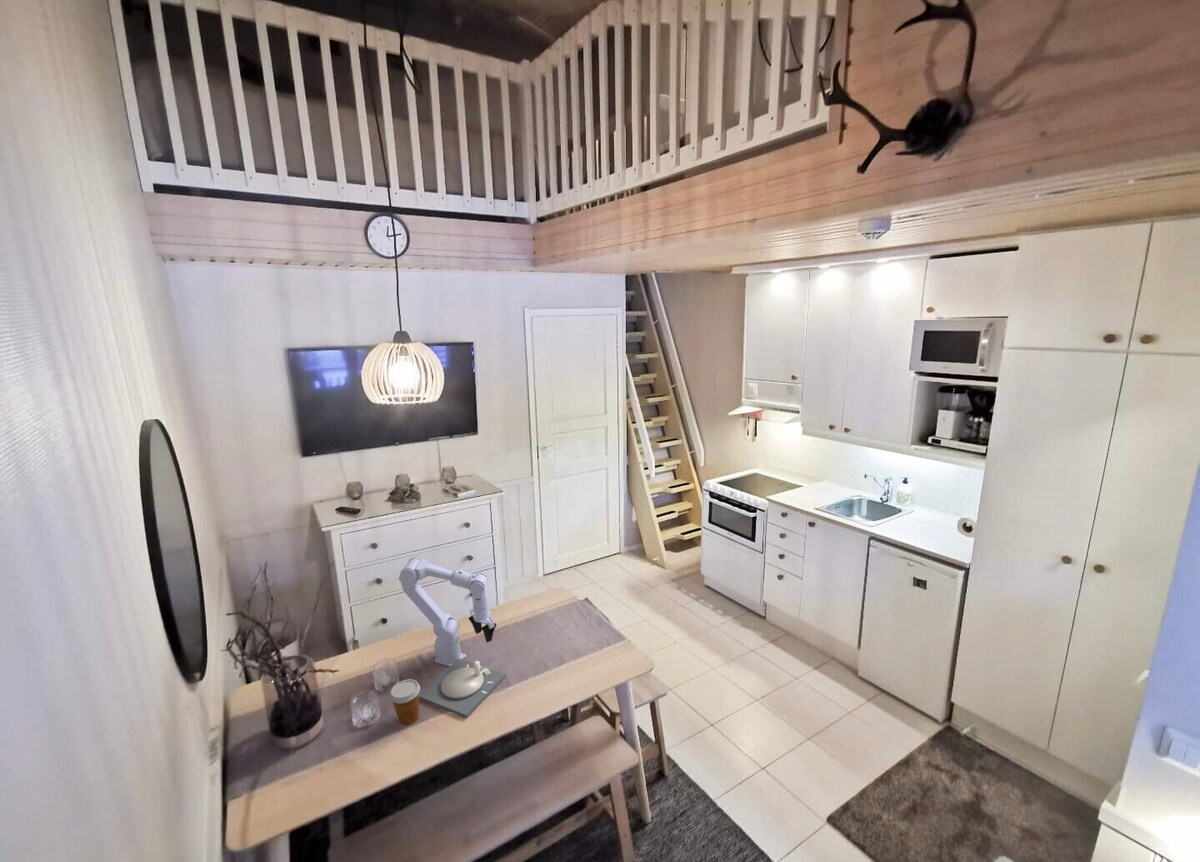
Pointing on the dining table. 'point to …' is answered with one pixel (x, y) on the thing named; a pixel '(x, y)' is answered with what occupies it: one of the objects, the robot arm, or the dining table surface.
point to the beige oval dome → (463, 682)
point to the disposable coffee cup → (406, 701)
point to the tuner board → (462, 705)
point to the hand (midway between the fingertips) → (483, 636)
